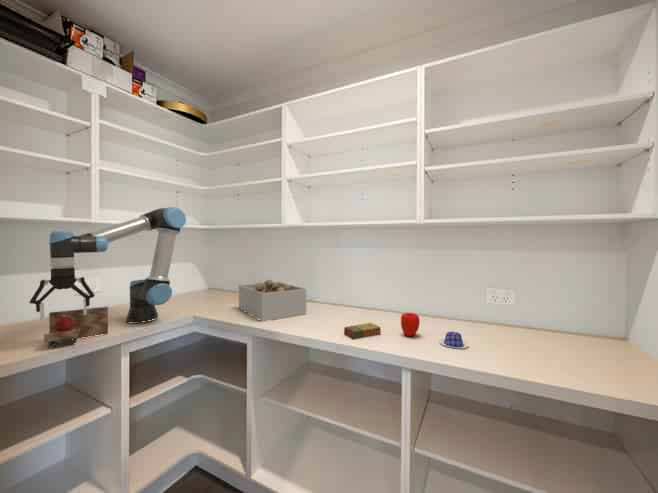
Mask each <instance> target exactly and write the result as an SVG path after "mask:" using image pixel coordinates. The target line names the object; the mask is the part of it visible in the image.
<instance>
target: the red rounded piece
mask: <svg viewBox="0 0 658 493" xmlns="http://www.w3.org/2000/svg"><path fill="white" fill-rule="evenodd" d="M400 325H401V330H402V332H403V334H404V336H406V337H413V336H415V335H416V334H417V332H418V331H419V328H420V316H419V315H418V314H417V313H412V312H406V313H402V314H401V316H400Z"/></svg>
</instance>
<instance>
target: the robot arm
mask: <svg viewBox="0 0 658 493" xmlns="http://www.w3.org/2000/svg"><path fill="white" fill-rule="evenodd" d="M186 223H187V216H186V214H185V213H184V211H183V210H181V209H180V208H178V207H174V206H173V207H172V206H168V207H163V208H161V207H160V208H157V209H154V210H151V211H149V212H146V213H144V214H141V215H139V217H137V218H133V219H130V220H127V221H124V222H120V223H117V224H114V225H111V226H107V227H104V228H100V229H98V230H94V231H90V232H88V233H84V234H82V235H75V234H74V232H73V231H67V230H66V231H58V230H57V231H51V232H50V233H49V241H48V242H49V254H50V255H49V256H50V258H49V260H50V261H49V264H50V267H51V268H50V279H41V280H40V282H39V286H38V288H37V289H36V291H35V292H34V294H33V295H32V297H31V299H30V300H29V304H35V308H36V309H35V311H36V313H39V321H43V320H45V305H44V302H43V301H44V300H46V299H47V297H49V295H50V294H52V293H53V292H54V291H55V290H68V289H72V290H73V291H75V292H76V293H78V295H80V296H82V297H83V298H84V299H83V300H82V301H83V309H84V315H85V314H87V309H88V308H87V307H89V306H90V304H91V302H90V299H92V298H94V297H95V293H94V292H93V290H92V289H91V288H90V286H89V285H88V284H87V282H86V278H85V277H84V276H81V277H76V273H75V272H76V269H75V267H74V266H75V254H82V253H83V254H84V253H85V254H86V253H104V252H106V251H107V250H108V247H109V243H111V242H114V241H118V240H121V239H124V238H126V237H130V236H131V235H135V234H138V233H141V232H144V231H147V232H150V231H152V230H156V231H157V233H158V235H157V239H156V244H155V248H154V254H153V259H152V264H151V269H150V272H149V275H148V276H147V277H146V278H145V279H136V280H135V279H134V280H131V281H130V284H129V309H128V312H127V314H126V317H125V318H126V319H125V322H126V323H127V322H142V321H148V320H152V319H155V318H157V317H158V318H159V314H158V311H157V308H156V306H161V305H164V304H166V303H167V302H168V301H170V299H171V297H172V294H173V289H172V288H171V286H170V283H171V280H170V279H169V277H168V276H169V272H170V267H171V263H172V257H173V252H174V248H175V247H174V246H175V242H176V237H177V235H179V234H180V232H181V228H182V227H184V226H185V224H186ZM76 282H78V283H81V285H82V287H83V288H84V289H85V291H86V292H87V293H88V294H87V293H86V292H84V291H83V290H82V289H80V288H79V287H78V286H77V285H75V283H76ZM48 284H50V285H51V287H50V289H48V290H47V291H46V292H45V293H44V294H43V295H42V296H41V297H40V298H39V295H40V294H41V293H42V291H43V290H44V287H45V286H47V285H48ZM38 298H39V299H38ZM37 299H38V300H37Z"/></svg>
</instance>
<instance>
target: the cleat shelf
mask: <svg viewBox="0 0 658 493" xmlns="http://www.w3.org/2000/svg"><path fill="white" fill-rule="evenodd" d="M79 332H80V329H74V330H69V331H64V332H51V333H49V332H48V333H44V334H43V343H47V349H51V348H50V347H53V346H54V345H53V344H55V343H56V342H55V341H58V340H65V339H72V338H73V340H72V345H73V344H74V343H76V341H77V342H78V340H79V339H78V335H79ZM77 339H78V340H77ZM76 344H77V343H76ZM74 345H75V344H74Z"/></svg>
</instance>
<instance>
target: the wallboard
mask: <svg viewBox="0 0 658 493" xmlns="http://www.w3.org/2000/svg"><path fill="white" fill-rule="evenodd" d="M62 315H65V316H67V317H68V318H70V319H71V320H72V321H73V327H72V328H71V329H70V330H74V329H80V332H79V335H78V338H82V337H88V336H95V335H101V334H107V333H108V334H109V306H101V307H91V308H87V314H85V315H84V308H83V309H82V308H81V309H72V310H62V311H61V310H60V311H53V312H49V313H48V316H49V319H48V320H49V322H48V323H49V326H48V328H49V330H48V331H49V332H48V334H49V333H51V332H59V331H57V330H56V329H55V323H56V322H57V320H59V319H60V318H62ZM95 337H96V336H95ZM88 338H89V337H88ZM72 339H73V338H72ZM72 339H65V340H58V341H55V343H60V342H59V341H61V342H66V341H67V340H68V341H73V340H72ZM82 339H83V338H82Z"/></svg>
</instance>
